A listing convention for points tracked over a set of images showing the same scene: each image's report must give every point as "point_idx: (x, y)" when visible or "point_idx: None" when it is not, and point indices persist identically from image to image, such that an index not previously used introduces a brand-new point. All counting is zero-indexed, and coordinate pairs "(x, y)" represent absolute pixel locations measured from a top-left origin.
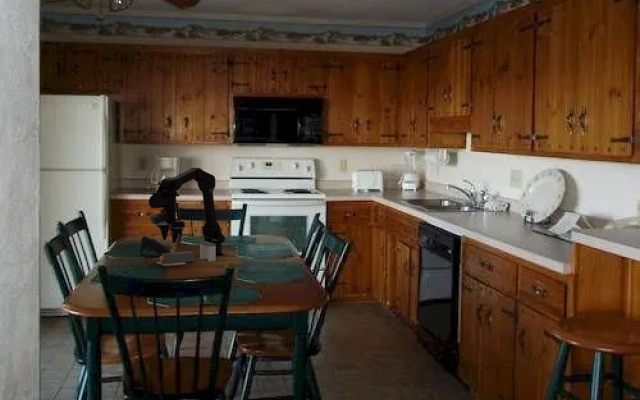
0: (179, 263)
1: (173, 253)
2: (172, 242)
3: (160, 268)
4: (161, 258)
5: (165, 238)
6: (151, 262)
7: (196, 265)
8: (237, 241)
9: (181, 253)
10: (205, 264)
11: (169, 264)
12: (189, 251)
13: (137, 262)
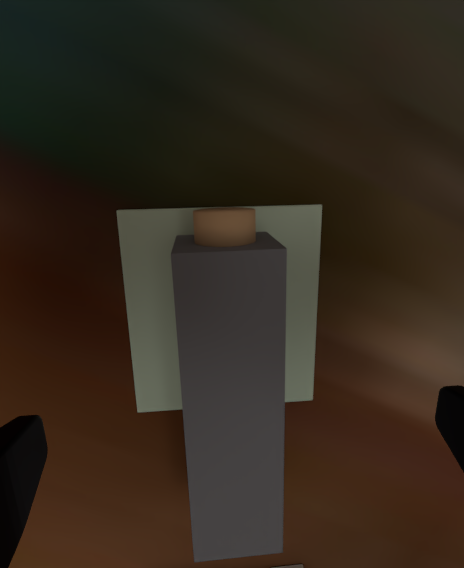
0: (144, 359)
1: (233, 379)
2: (29, 418)
3: (7, 104)
4: (208, 212)
5: (458, 443)
6: (364, 170)
7: None
8: None
9: (192, 450)
10: (59, 523)
11: (135, 260)
12: (269, 549)
13: (443, 35)
